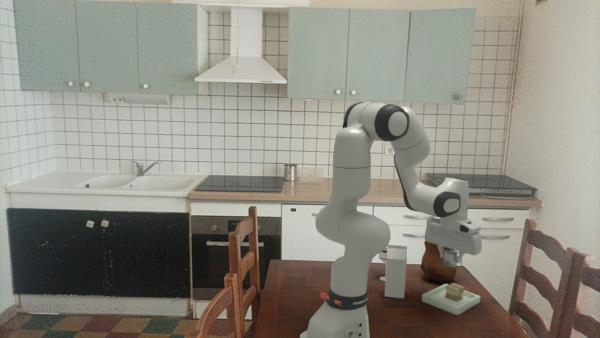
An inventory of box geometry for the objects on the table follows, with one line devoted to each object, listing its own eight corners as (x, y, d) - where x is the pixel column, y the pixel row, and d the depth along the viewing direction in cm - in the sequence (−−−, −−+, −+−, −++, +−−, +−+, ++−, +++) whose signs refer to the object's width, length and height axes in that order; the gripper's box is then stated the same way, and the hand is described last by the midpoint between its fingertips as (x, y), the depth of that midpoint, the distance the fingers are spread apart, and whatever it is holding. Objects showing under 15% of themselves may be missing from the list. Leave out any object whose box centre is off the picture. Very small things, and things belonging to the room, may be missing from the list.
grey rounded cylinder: (458, 267, 153) (459, 253, 152) (445, 267, 153) (446, 253, 152) (454, 262, 157) (455, 249, 156) (442, 262, 157) (443, 249, 156)
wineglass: (393, 276, 181) (395, 248, 180) (394, 282, 175) (396, 254, 173) (377, 274, 182) (378, 247, 180) (377, 281, 176) (379, 252, 174)
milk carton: (404, 299, 160) (407, 249, 157) (384, 296, 162) (387, 247, 159) (403, 291, 167) (406, 243, 164) (384, 289, 169) (387, 241, 166)
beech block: (456, 301, 157) (457, 290, 157) (445, 297, 161) (446, 286, 160) (463, 298, 160) (464, 286, 159) (451, 294, 164) (452, 282, 163)
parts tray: (457, 315, 149) (457, 308, 148) (421, 301, 159) (422, 294, 159) (479, 302, 159) (480, 296, 159) (445, 289, 169) (445, 283, 169)
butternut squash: (451, 275, 184) (455, 217, 181) (459, 288, 171) (464, 226, 167) (417, 272, 186) (421, 215, 182) (423, 285, 173) (427, 224, 169)
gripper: (422, 217, 158) (420, 253, 160) (476, 230, 143) (472, 270, 145) (432, 214, 162) (429, 250, 164) (485, 227, 147) (482, 266, 149)
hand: (450, 259), depth 155 cm, fingers closed on grey rounded cylinder, 4 cm apart
